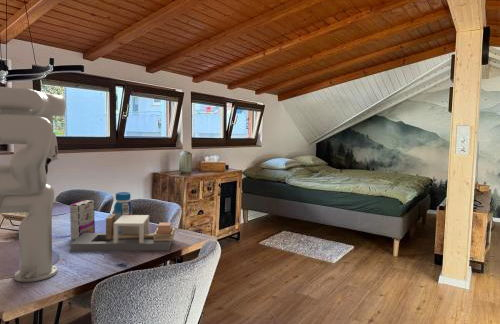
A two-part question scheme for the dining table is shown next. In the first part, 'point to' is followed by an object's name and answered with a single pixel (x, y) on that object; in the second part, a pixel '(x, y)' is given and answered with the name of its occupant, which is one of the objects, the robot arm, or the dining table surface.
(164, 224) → the terracotta block
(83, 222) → the candy bar box
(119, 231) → the beverage bottle
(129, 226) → the track board
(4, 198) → the robot arm
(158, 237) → the sled
